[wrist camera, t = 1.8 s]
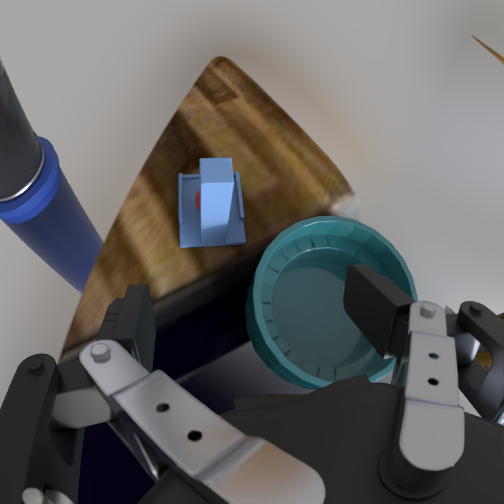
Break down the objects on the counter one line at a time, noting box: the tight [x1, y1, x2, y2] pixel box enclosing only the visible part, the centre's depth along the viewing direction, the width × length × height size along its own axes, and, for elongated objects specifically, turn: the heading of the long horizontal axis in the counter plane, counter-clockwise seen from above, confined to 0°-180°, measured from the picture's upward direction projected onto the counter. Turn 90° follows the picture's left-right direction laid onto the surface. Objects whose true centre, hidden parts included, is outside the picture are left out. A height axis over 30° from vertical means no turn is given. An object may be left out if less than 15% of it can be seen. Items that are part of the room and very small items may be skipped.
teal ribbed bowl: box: [245, 216, 418, 389], centre depth 29 cm, size 15×15×6 cm
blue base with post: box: [179, 158, 246, 248], centre depth 29 cm, size 8×7×11 cm
